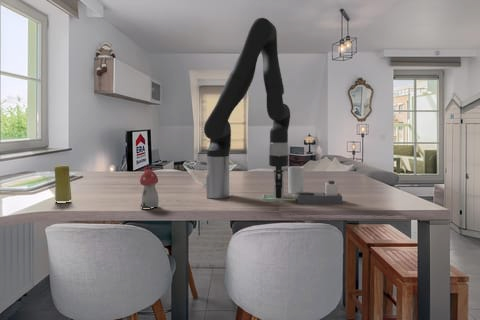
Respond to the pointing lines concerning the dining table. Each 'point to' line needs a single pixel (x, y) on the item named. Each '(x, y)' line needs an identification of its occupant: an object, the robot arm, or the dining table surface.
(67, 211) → the dining table surface
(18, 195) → the dining table surface
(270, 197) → the tray
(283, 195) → the plug
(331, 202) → the grey rectangular frame
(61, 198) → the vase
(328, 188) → the twin plug
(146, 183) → the decorative ornament
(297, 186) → the mug
